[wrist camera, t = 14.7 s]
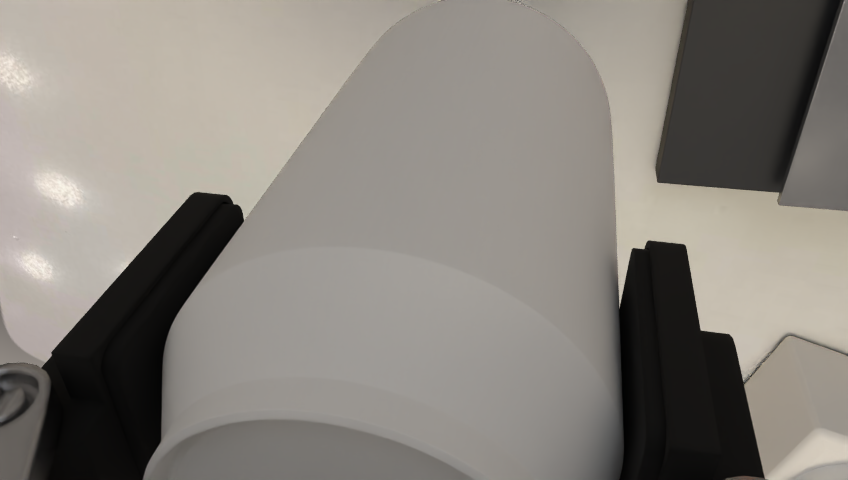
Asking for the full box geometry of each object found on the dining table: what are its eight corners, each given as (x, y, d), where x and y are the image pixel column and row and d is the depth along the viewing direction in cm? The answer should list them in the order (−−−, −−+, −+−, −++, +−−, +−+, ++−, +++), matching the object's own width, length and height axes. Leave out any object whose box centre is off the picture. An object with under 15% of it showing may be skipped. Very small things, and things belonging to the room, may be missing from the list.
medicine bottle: (827, 447, 44) (892, 647, 34) (719, 409, 44) (754, 598, 34) (907, 374, 39) (1006, 578, 30) (787, 331, 39) (848, 522, 30)
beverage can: (443, 247, 20) (304, 708, 11) (313, 64, 18) (-21, 449, 8) (654, 159, 17) (721, 678, 8) (534, -72, 15) (421, 273, 5)
